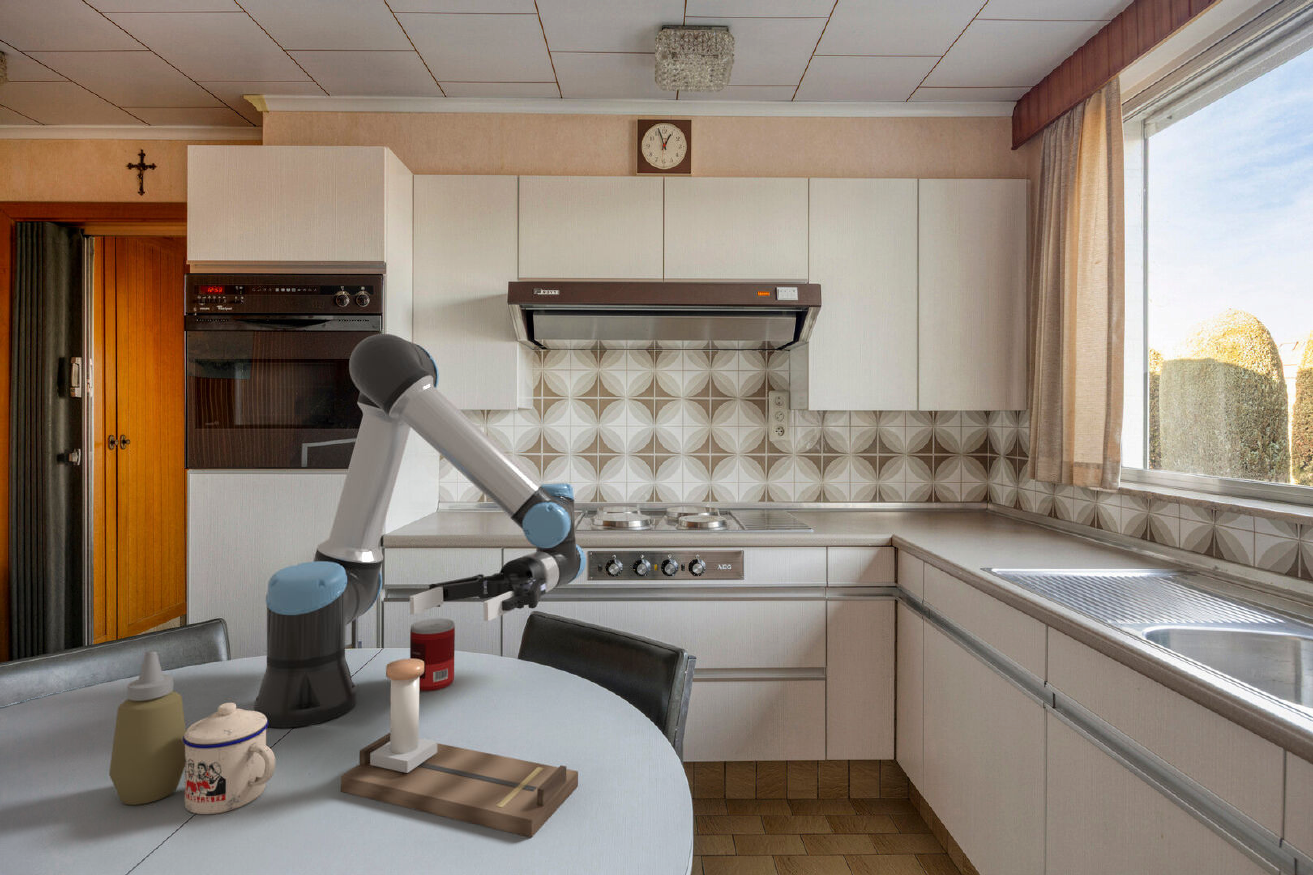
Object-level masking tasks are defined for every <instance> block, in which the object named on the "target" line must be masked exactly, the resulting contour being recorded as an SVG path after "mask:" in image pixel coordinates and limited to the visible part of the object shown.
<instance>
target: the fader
mask: <svg viewBox="0 0 1313 875" xmlns="http://www.w3.org/2000/svg"><path fill="white" fill-rule="evenodd" d="M423 673H424V661H422V660H420V659H410V658H403V659H402V658H401V659H396V660H394V661H391V662H389V663H387V665H386V666H385V677H386V678H387V679H388V680H390V728H389V729H390V732H389V733H390V742H388V743H387V744H385V745H384V746H382V747H380V748H379V749H377V750H375V751H374V752H372V753H370V765H373V766H378V767H383V768H387V769H392V770H396V771H401V772H405V773H408V772H410V771H411V770H412V769H414V768H415V767H417V766H418V765H420V764H421V763H423V762H424V761H425V760H427V759H428V758H430V757H431V756H433V755H434V754H436V753H437V743H438V741H436V740H431V739H426V738H421V737H420V731H419V730H420V691H419V676H421V675H422V674H423Z"/></svg>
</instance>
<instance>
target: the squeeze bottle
mask: <svg viewBox="0 0 1313 875" xmlns="http://www.w3.org/2000/svg"><path fill="white" fill-rule="evenodd" d="M173 690H174V678H173V676H171V675H167V674H163V670H162V667H161V663H160V660H159V655H158V652H157V651H148V652H145V654H144V658H143V661H142V664H141V668H140V672H139V675H138V679H136V680H132V681H130V683H129V684H128V685H127V690H126V691H127V696H126V697H127V699H125V700H124V701H123V702H122V703H121V704H120V705H119V706H118V707H117V712H116V713H117V714H116V720H115V727H114V737H113V742H112V751H111V758H110V766H109V772H108V773H109V777H110V780H111V781H112V783H113V785H114V789H115V790H116V793H117V794H118V797H119V799H120V802H121V803H122V804H124V805H132V806H133V805H135V806H136V805H144V804H149V803H151V802H155V801H158V800H161V799H163V798H165V797H166V798H167V796H168V797H169V795H171V794H173V793H174V792H175V791H177V789H178V786H179V784H180V781H181V779H182V776H183V774H184V772H185V744H184V742H183V737H184V734H185V732H186V730H187V729H186V722H185V720H186V719H185V714H184V704H183V697H182V695H181V694H180V693H178V692H177V691H173Z"/></svg>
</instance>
